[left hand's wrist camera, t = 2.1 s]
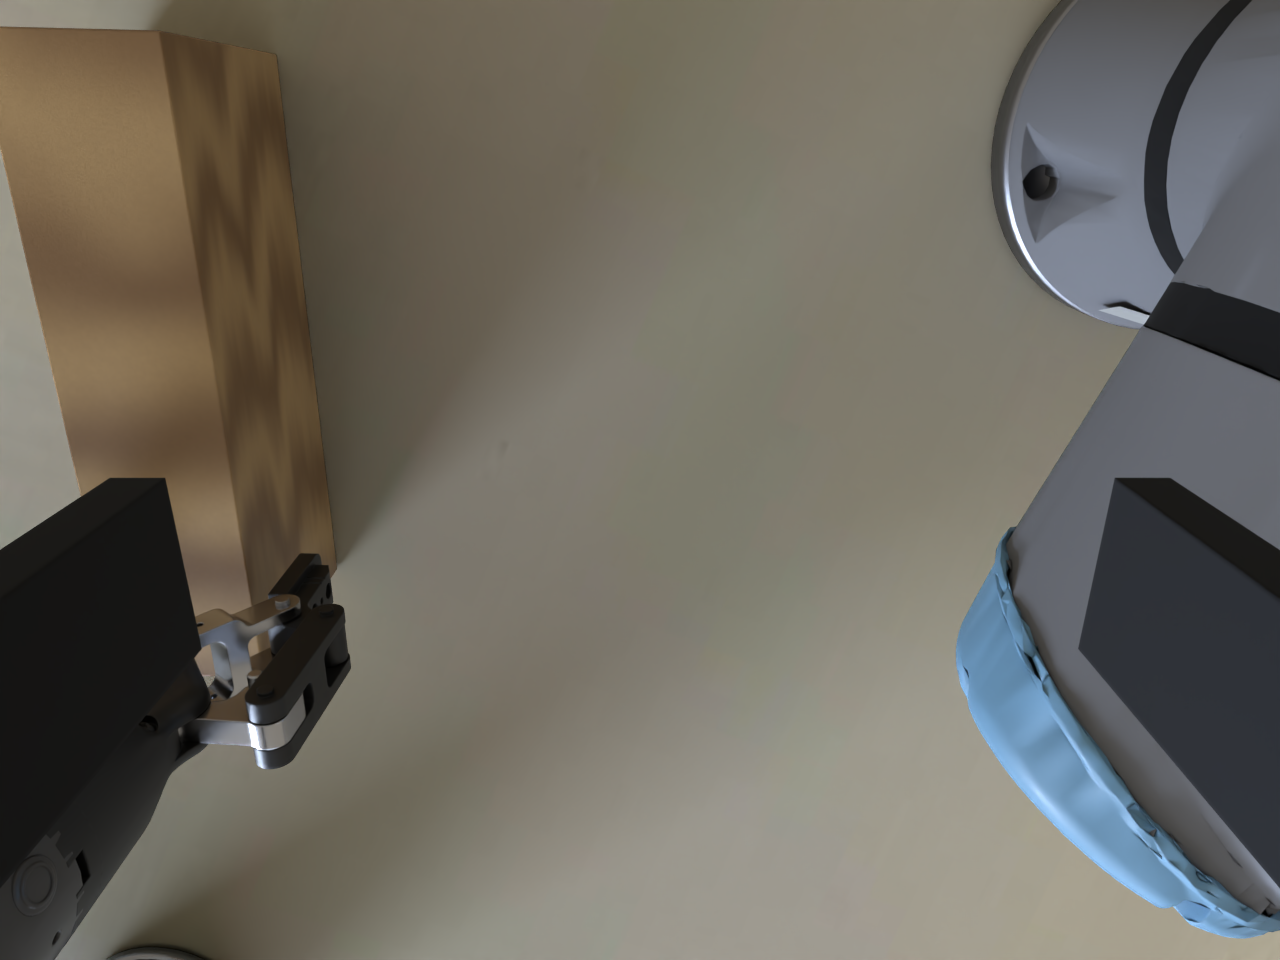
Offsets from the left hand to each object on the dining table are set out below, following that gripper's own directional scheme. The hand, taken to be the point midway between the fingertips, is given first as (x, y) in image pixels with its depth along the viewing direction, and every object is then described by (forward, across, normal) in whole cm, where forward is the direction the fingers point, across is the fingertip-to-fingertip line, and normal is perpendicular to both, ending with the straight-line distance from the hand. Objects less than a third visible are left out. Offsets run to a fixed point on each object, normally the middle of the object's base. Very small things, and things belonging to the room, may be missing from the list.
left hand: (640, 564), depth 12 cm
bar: (+28, -18, -3) cm, 33 cm away
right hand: (+21, -18, -11) cm, 30 cm away
